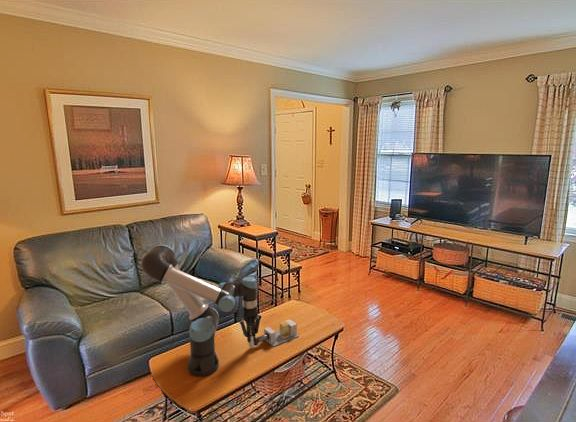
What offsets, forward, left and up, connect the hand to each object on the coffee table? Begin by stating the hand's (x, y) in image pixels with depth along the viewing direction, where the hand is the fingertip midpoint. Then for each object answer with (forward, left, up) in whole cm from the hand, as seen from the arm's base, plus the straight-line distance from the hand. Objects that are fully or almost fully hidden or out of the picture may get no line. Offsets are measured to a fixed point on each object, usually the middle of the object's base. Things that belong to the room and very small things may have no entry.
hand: (251, 346), depth 185 cm
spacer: (+22, 0, -1) cm, 22 cm away
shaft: (+8, 0, 0) cm, 8 cm away
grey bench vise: (+20, 0, -2) cm, 20 cm away
